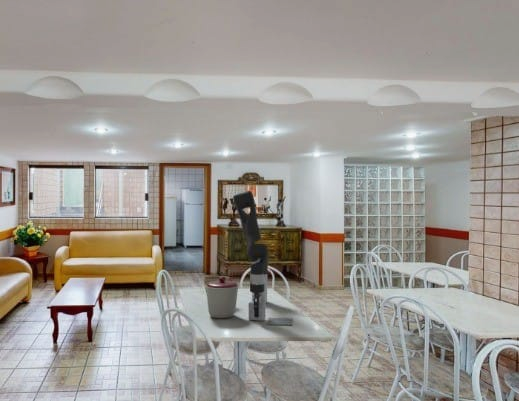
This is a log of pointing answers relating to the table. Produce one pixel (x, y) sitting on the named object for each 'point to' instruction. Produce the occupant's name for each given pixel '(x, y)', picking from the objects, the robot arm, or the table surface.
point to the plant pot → (212, 279)
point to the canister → (222, 298)
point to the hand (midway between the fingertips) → (257, 315)
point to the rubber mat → (280, 321)
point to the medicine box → (261, 311)
